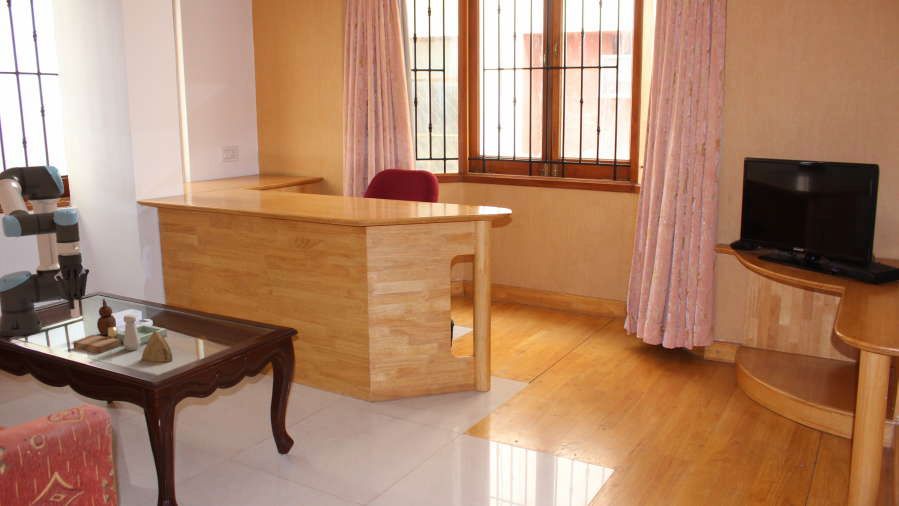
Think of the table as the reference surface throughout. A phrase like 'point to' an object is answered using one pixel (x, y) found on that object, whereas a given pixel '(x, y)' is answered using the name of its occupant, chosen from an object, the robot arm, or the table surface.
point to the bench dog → (112, 332)
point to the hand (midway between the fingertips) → (75, 317)
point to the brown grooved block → (97, 344)
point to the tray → (144, 333)
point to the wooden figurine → (105, 319)
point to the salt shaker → (131, 333)
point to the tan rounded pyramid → (157, 349)
